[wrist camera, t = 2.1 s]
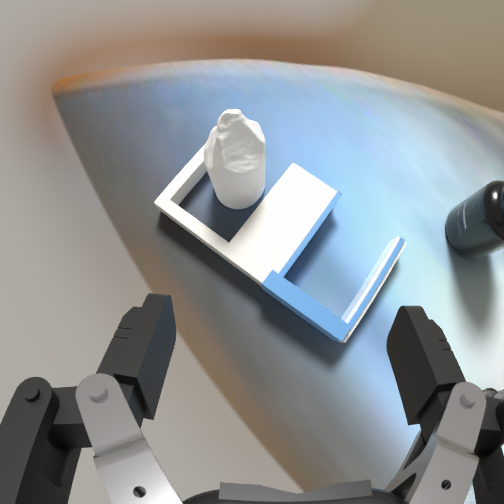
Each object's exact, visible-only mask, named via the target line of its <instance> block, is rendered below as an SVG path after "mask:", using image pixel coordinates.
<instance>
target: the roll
mask: <svg viewBox="0 0 504 504" xmlns="http://www.w3.org/2000/svg"><path fill="white" fill-rule="evenodd" d="M203 156H204V163H205V166H206V169H207V172H208V174H209V176H210V179H211V182H212V185H213V187H214V190H215V193H216V196H217V198H218V200H219V201H220V202H221V203H222V204H223V205H225V206H226V207H229V208H232V209H244V208H247V207H249V206H251V205H253V204H254V203H255V202H256V201H257V200H258V199H259V198H260V197H261V195H262V194H263V191H264V188H265V171H266V146H265V138H264V135H263V133H262V130H261V128H260V126H259V124H258V123H257V122H254V121H251V120H248V119H247V118H246V117H244V115H243V114H242V113H241V111H240V110H238V109H234V110H231V109H228V110H227V111H224V112H223V114H222V115H221V116H220V117H219V118H218V122H217V126H215V127H214V128H213V129H212V131H211V132H210V135H209V138H208V140H207V142H206V144H205V147H204V151H203Z"/></svg>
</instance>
